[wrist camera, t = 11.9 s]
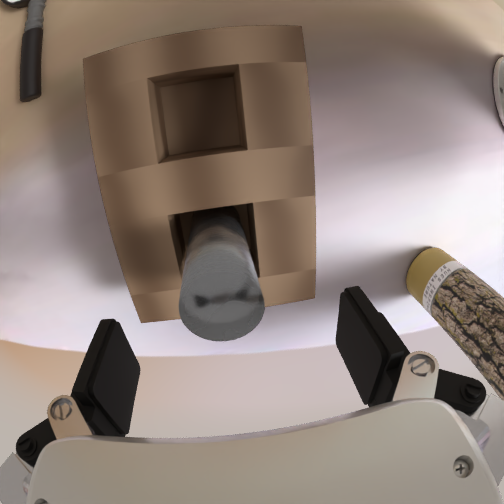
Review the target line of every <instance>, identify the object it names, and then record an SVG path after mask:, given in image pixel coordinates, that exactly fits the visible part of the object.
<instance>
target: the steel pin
mask: <svg viewBox="0 0 504 504" xmlns="http://www.w3.org/2000/svg"><path fill="white" fill-rule="evenodd" d="M178 307H179V315H180V317H181V320H182V322H183V323H184V325H185V326H186V327H187V328H188V329H189V330H190V331H191V332H192V333H194V334H196V335H197V336H199V337H201V338H204V339H207V340H212V341H229V340H234V339H237V338H240V337H242V336H244V335H246V334H248V333H249V332H251V331H252V330H253V329H254V328H255V327H256V326H257V325H258V324H259V322H260V321H261V319H262V317H263V314H264V309H265V302H264V298H263V294H262V291H261V287H260V284H259V281H258V277H257V274H256V271H255V267H254V264H253V261H252V257H251V254H250V250H249V247H248V244H247V240H246V237H245V234H244V230H243V227H242V223H241V220H240V217H239V214H238V212H237V210H236V208H235V207H234V206H233V205H231V206H224V207H217V208H210V209H203V210H197V211H195V213H194V215H193V219H192V224H191V229H190V235H189V241H188V247H187V252H186V258H185V265H184V271H183V277H182V284H181V291H180V298H179V306H178Z"/></svg>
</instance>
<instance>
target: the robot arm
mask: <svg viewBox="0 0 504 504" xmlns="http://www.w3.org/2000/svg"><path fill="white" fill-rule="evenodd" d="M493 86H494V95H495V101H496V106H497V110H498V113H499V117H500V119H501V122H502V124H503V126H504V57H501V58H499V59H498V61H497V62H496V65H495V68H494V75H493ZM336 345H337V348H338V350H339V352H340V354H341V356H342V358H343V360H344V362H345V364H346V367H347V369H348V371H349V373H350V375H351V377H352V379H353V381H354V384H355V386H356V388H357V390H358V392H359V395H360V397H361V399H362V401H363V403H364V404H365V405H366V404H368V406H369V408H366V409H362V410H359V411H355V412H351V413H347V414H344V415H340V416H336V417H332V418H328V419H324V420H319V421H315V422H310V423H306V424H301V425H296V426H291V427H285V428H279V429H274V430H267V431H260V432H253V433H244V434H235V435H225V436H213V437H197V438H134V437H125V435H126V434H128V433H129V429H130V422H131V417H132V411H133V405H134V400H135V395H136V390H137V385H138V380H139V375H140V366H139V363H138V361H137V359H136V357H135V355H134V353H133V351H132V349H131V347H130V344H129V342H128V340H127V338H126V336H125V334H124V332H123V329H122V327H121V325H120V323H119V322H116V320H115V319H102V320H101V321H100V323H99V325H98V328H97V330H96V332H95V334H94V337H93V339H92V341H91V343H90V346H89V348H88V351H87V353H86V356H85V358H84V361H83V363H82V365H81V368H80V370H79V373H78V375H77V378H76V381H75V383H74V386H73V389H72V393H71V396H67V395H61V396H59V397H56V398H55V399H54V400H52V402H51V403H50V404H49V406H48V410H47V414H48V418H47V419H46V420H44V421H43V422H41V423H39V424H38V425H36V426H35V427H33V428H32V429H30V430H29V431H27V432H26V433H24V434H23V435H21V436H20V437H19V439H18V441H17V443H16V452H17V453H16V454H14V453H12V454H11V455H10V456H9V457H8V459H7V460H6V461H5V462H4V463H3V464H2V466H1V467H0V501H1V502H2V504H504V502H503V499H502V497H501V494H500V491H499V489H498V485H499V483H500V481H501V479H502V477H503V476H504V401H503V400H502V399H500V398H498V397H497V396H495V395H493V394H490V396H489V395H487V394H486V390H485V387H484V386H483V384H482V383H481V382H480V381H478V380H476V379H474V378H470V377H467V376H463V375H459V374H456V373H452V372H449V371H445V370H442V369H439V364H438V361H437V360H436V358H435V357H434V356H433V355H431V354H429V353H427V352H423V351H416V352H413V353H410V352H409V351H408V349H407V347H406V346H405V345H404V343H403V342H402V340H401V339H400V338H399V336H398V335H397V333H396V332H395V330H394V329H393V328H392V326H391V325H390V324H389V322H388V321H387V319H386V318H385V317H384V315H383V314H382V313H380V312H378V311H377V310H376V309H375V307H374V306H373V304H372V303H371V302H370V300H369V299H368V298H367V296H366V295H365V294H364V292H363V291H362V290H361V288H360V287H359V286H355V287H349V288H345V290H344V292H342V293H341V295H340V305H339V315H338V324H337V332H336Z"/></svg>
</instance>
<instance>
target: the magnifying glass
mask: <svg viewBox="0 0 504 504" xmlns="http://www.w3.org/2000/svg"><path fill="white" fill-rule="evenodd" d="M2 2H3V3H5V4H6V5H9V6H11V7H14V8H23V7H27V6H28V9H27V12H28V18H27V21H26V23H25V26H26V27H25V29H24V34H23V38H22V48H21V63H20V101H21V102H28V101H32V100H34V99H36V98H38V97H40V96H41V52H42V37H43V29H42V27H43V24H42V22H43V17H42V16H43V9H44V8H45V2H46V0H2Z"/></svg>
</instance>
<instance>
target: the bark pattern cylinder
mask: <svg viewBox="0 0 504 504" xmlns="http://www.w3.org/2000/svg"><path fill="white" fill-rule="evenodd" d="M406 283H407V289H408V291H409V292H410V294H411V295H412V296H413V297H414V298H415V299H416V300H417V301H418V302H419V303H420V304H421V305H422V306H423V307H424V308H425V310H426V311H427V312H428V313H429V314H430V315H431V316H432V317H433V318H434V319H435V320H436V321H437V322H438V324H439V325H440V326H441V327H442V328H443V329H444V330H445V331H446V332H447V333H448V335H449V336H450V337H451V338H452V339H453V340H454V341H455V343H456V344H457V345H458V346H459V347H460V348H461V350H462V351H463V352H464V353H465V354H466V355H467V356H468V358H469V359H470V360H471V361H472V363H473V364H474V365H475V366H476V368H477V369H478V370H479V371H480V373H481V374H482V375H483V376H484V377H485V379H486V380H487V381H488V383H489V384H490V385H491V386H492V388H493V389H494V390H495V392H496V393H497V394H498V396H499V397H500V398H501V399H502V400H503V401H504V298H503V297H502V296H501V295H500V294H499V293H497V292H496V291H495V290H494V289H493V288H491V287H490V286H489V285H488V284H487V283H485V282H484V281H483V280H482V279H480V278H479V277H478V276H477V275H475V274H474V273H473V272H471V271H470V270H469V269H468V268H466V267H465V266H464V265H462V264H461V263H460V262H458V261H457V260H455V259H454V258H452V257H451V256H450V255H448V254H447V253H446V252H444V251H443V250H441V249H439V248H429V249H426V250H424V251H423V252H421V253H420V254H419V255H418V256H417V257H416V258H415V259H414V261H413V262H412V264H411V266H410V268H409V270H408V273H407V278H406Z"/></svg>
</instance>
